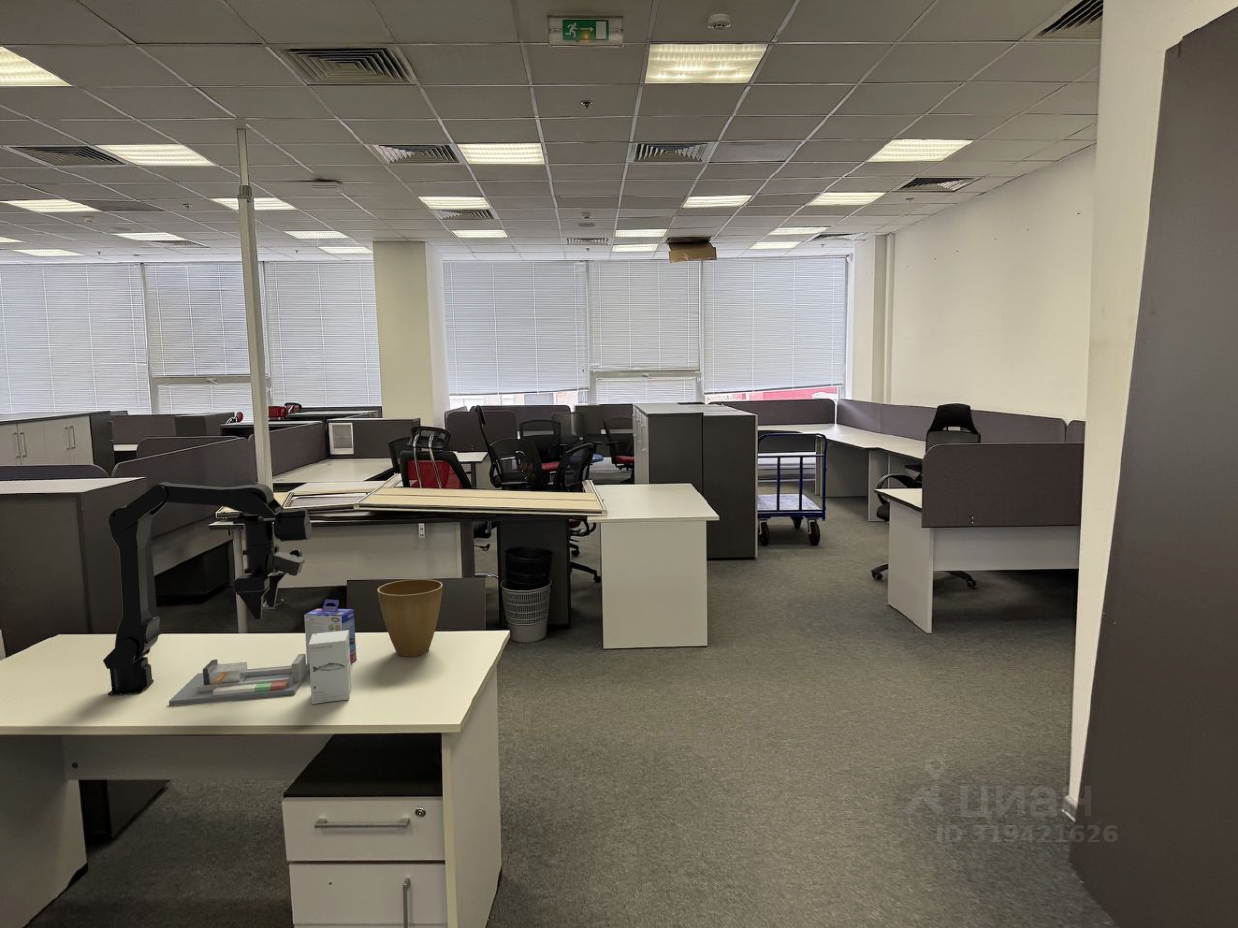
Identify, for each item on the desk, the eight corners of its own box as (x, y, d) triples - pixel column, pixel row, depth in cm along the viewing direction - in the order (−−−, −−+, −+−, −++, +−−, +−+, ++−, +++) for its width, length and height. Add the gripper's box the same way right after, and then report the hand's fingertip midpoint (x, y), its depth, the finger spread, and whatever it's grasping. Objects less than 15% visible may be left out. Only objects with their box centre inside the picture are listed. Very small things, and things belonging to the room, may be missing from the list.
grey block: (196, 695, 152) (195, 676, 152) (213, 677, 161) (212, 659, 161) (233, 691, 153) (232, 673, 153) (248, 674, 162) (246, 656, 162)
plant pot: (417, 666, 168) (413, 597, 167) (367, 657, 175) (363, 591, 173) (458, 645, 182) (455, 581, 180) (411, 637, 188) (407, 576, 186)
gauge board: (169, 705, 150) (167, 681, 150) (198, 677, 165) (196, 655, 165) (294, 694, 154) (292, 671, 154) (311, 667, 169) (310, 646, 169)
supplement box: (311, 705, 149) (306, 644, 147) (315, 691, 156) (311, 632, 155) (350, 700, 151) (346, 639, 149) (352, 686, 158) (349, 628, 157)
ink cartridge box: (358, 659, 174) (354, 598, 172) (345, 668, 169) (341, 605, 167) (320, 657, 176) (316, 597, 174) (306, 666, 171) (301, 604, 169)
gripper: (286, 549, 153) (292, 623, 155) (309, 532, 172) (314, 598, 173) (229, 552, 152) (235, 627, 153) (258, 535, 170) (263, 602, 172)
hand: (265, 612), depth 163 cm, fingers open, 9 cm apart
